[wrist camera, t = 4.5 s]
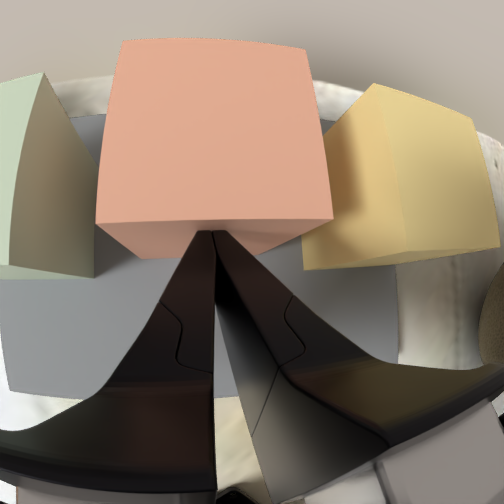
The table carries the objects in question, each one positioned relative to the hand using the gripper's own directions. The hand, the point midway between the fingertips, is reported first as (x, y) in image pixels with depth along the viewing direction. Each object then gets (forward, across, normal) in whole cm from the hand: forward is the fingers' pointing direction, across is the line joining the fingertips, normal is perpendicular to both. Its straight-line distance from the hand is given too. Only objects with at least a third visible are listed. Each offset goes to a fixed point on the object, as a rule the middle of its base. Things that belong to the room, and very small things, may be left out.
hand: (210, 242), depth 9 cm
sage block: (+6, +8, +3) cm, 11 cm away
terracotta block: (+7, 0, +2) cm, 7 cm away
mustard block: (+6, -9, +3) cm, 11 cm away
